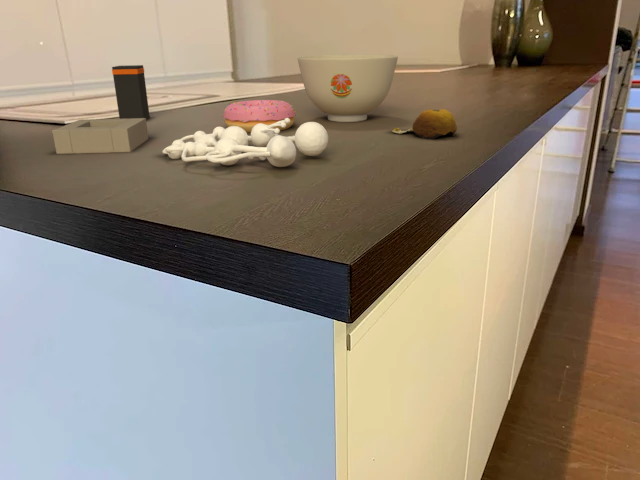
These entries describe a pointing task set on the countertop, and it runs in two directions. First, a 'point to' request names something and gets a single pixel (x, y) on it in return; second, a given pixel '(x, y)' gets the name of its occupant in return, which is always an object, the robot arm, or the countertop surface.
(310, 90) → the bowl
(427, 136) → the fruit
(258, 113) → the doughnut
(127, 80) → the black orange-banded block
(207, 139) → the tangled rod sculpture
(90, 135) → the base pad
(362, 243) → the countertop surface
